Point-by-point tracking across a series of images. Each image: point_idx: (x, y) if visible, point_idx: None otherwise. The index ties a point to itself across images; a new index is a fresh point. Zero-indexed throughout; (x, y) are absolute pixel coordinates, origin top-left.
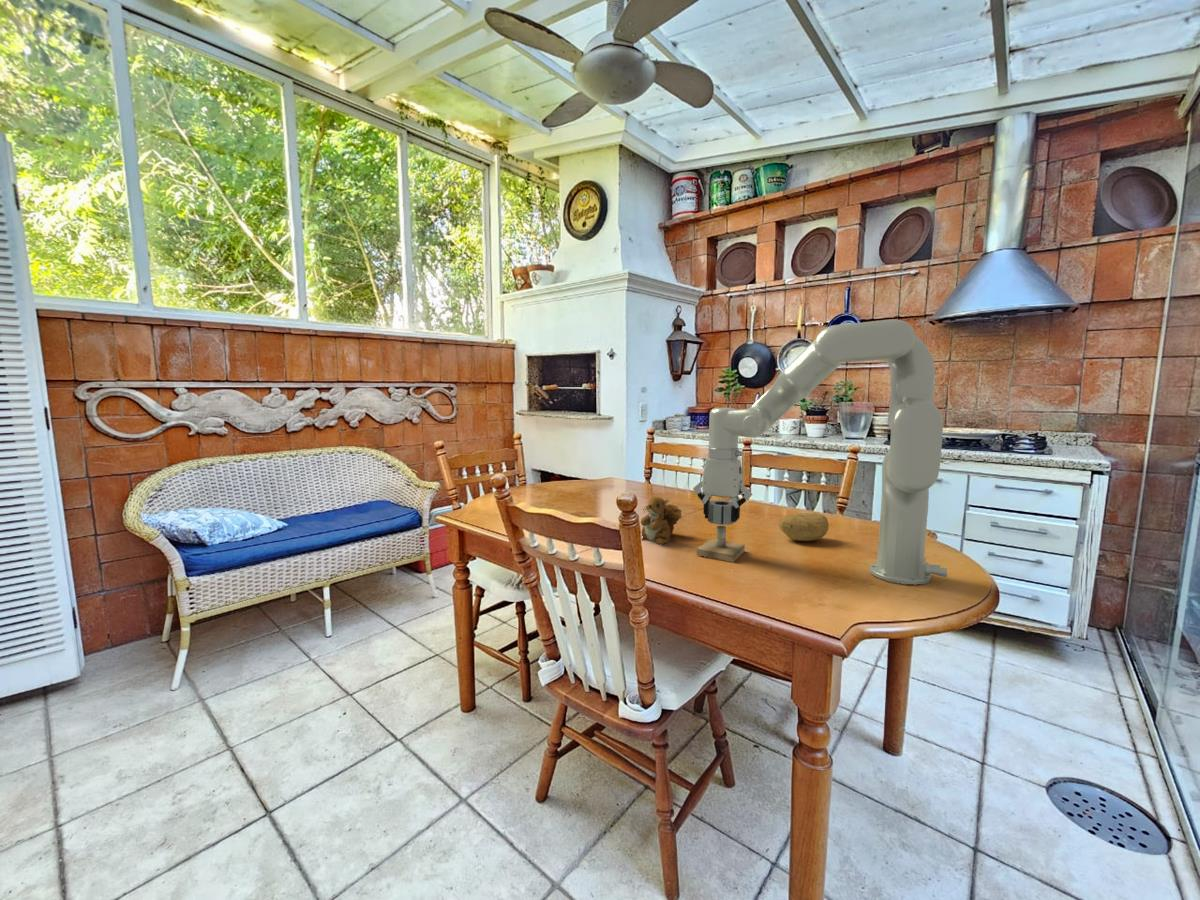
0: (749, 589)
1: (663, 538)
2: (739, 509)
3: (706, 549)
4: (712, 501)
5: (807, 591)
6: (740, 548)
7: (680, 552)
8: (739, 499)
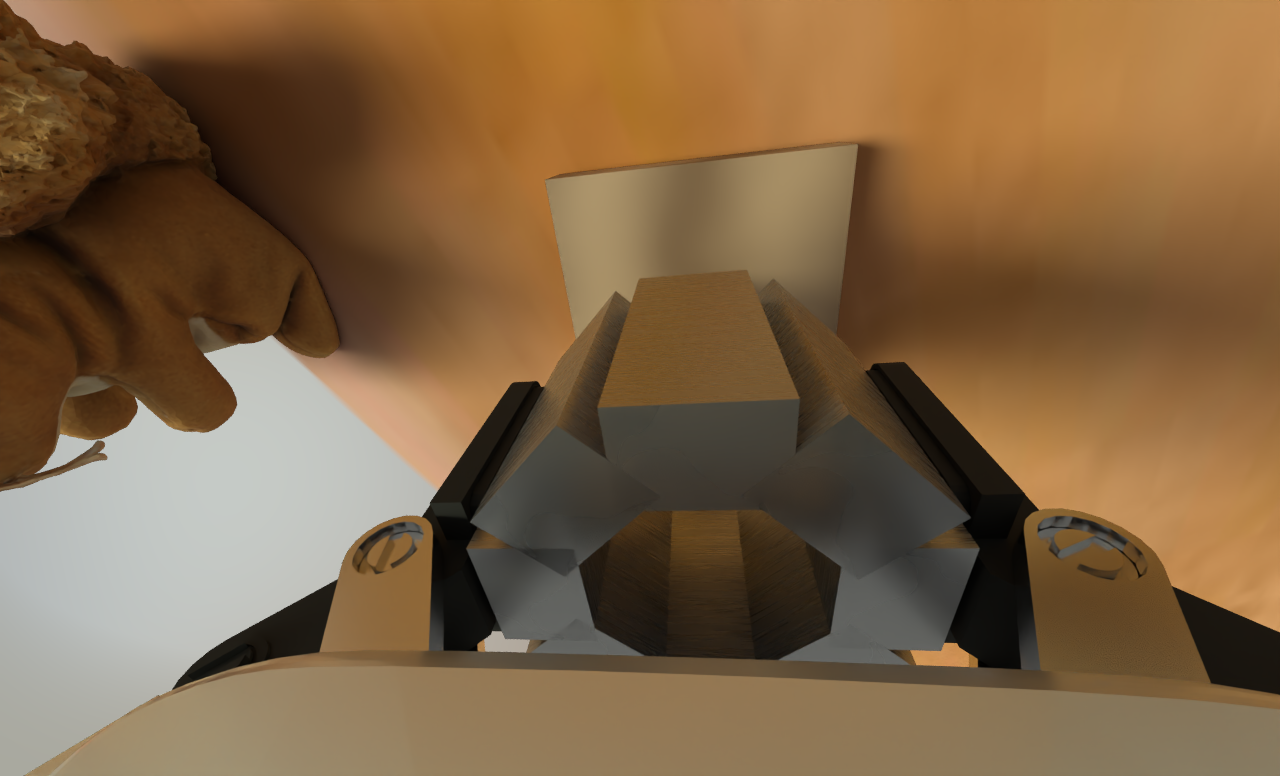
0: None
1: (293, 315)
2: (1022, 511)
3: None
4: (514, 570)
5: (1214, 541)
6: (843, 269)
7: (501, 395)
8: (1184, 672)
